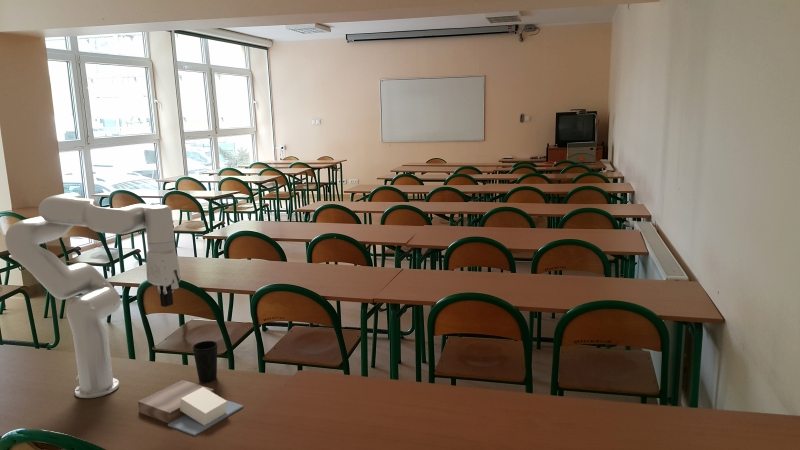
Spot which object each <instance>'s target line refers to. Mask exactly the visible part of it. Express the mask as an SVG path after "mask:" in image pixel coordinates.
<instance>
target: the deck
mask: <svg viewBox="0 0 800 450" xmlns="http://www.w3.org/2000/svg"><path fill="white" fill-rule="evenodd" d="M202 387H204V388H206V389H207V390H209V391H211V392H212V393H214V394H215V390H214V389H213V388H210V387H207V386H204V385H201V384H197V383H194V382H190V381H188V380H185V379H181V380H180V381H176V382H175V383H173V384H171V385H169V386H167V387H164V388H163V389H161V390H159V391H156V392H154V393H152V394H150V395H149V396H146V397H144V398H142V399H139V400H138V401H137V405H138V413H140V414H142V415H146V416H148V417H150V418H153V419H155V420H159V421H161V422H164V423H165V424H166V423H167V424H169V423H171V422H173V421H175V420H176V419H178V418H180V417H182V416H184V415H185V413H183V412H182V411H180V404H181V398H183V397H185V396H187V395H188V394H190V393H192V392H194V391H196V390H198V389H200V388H202Z"/></svg>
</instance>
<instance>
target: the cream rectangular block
mask: <svg viewBox="0 0 800 450" xmlns="http://www.w3.org/2000/svg"><path fill="white" fill-rule="evenodd" d="M204 387H205V386H204ZM204 387H202V388H200V389H198V390H196V391H194V392H192V393H190V394H188V395H187V396H185V397H183V398H181V404H180V411H182V412H183V413H185V414H187V415H188V416H190V417H191V418H193V419H195V420H196V421H198V422H199V423H201V424H203V425H204V426H205V425H206V424H208V423H210V422H211V421H213V420H215V419H217V418H218V417H220V416H222V415H223V414H225V413H226V408H227V401H228V400H227V399H224V398H223V397H221V396H219V395H218V394H216V393H215V392H214V393H212V392H211V391H209V390H207V389H206V388H204ZM226 400H227V401H226Z"/></svg>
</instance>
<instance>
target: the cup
mask: <svg viewBox="0 0 800 450" xmlns="http://www.w3.org/2000/svg"><path fill="white" fill-rule="evenodd" d="M192 351H193V352H192V353H193V355H194V356H193V357H194V361H195V367H196V372H197V376H198V377H197V378H198V381H199V383H200V382H201V384H210V382H211V383H213V382H215V381H216V380H217V379H218V376H217V374H218V342H216V341H214V340H205V341H200V342H197V343H194V344H193V346H192Z"/></svg>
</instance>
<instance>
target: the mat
mask: <svg viewBox="0 0 800 450" xmlns="http://www.w3.org/2000/svg"><path fill="white" fill-rule="evenodd" d="M225 400H226V401H227V408H226V413H225V414H223V415H222V416H220V417H218V418H217V419H215V420H213V421H211V422H210V423H208V424H206V425H205V426H204V425H203V424H201V423H199V422H198V421H196V420H195V419H193V418H191V417H190V416H188V415H187V414H185V415H184V416H182V417H180V418H178V419H176V420H175V421H173V422H171V423H167V426H168V427H170V428H173V429H174V430H177V431H181V432H183V433H185V434H188V435H190V436H194V437H196V436H197V435H199V434H200V433H202V432H204V431H206V430H207V429H209V428H211V427H212V426H215V425H216V424H217V423H219V422H221V421H222V420H224V419H226V418H227V417H228V418H229V416H231V415H233V414H234V413H236V412H238V411H239V410H240V409H243V408H244V405H243V404H239V403H237V402H234V401H229V400H227V399H225Z"/></svg>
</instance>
